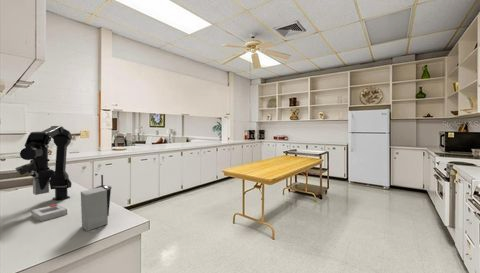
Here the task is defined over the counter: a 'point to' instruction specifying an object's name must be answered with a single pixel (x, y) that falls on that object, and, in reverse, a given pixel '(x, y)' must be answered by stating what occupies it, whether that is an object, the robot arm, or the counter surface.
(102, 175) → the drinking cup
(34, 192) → the plug
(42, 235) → the counter surface
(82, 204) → the skincare box
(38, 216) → the socket
